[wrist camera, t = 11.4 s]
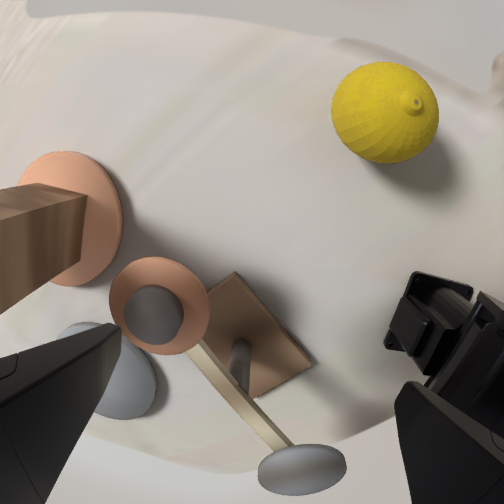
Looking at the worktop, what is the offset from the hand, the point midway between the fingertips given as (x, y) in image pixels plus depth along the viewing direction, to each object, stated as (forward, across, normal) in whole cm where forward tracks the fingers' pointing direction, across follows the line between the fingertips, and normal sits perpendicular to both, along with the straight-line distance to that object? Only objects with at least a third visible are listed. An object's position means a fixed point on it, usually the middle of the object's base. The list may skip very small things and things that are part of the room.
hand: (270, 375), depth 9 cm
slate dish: (+13, +11, +14) cm, 22 cm away
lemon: (+13, -4, -10) cm, 17 cm away
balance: (+13, 0, +7) cm, 15 cm away
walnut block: (+12, +15, +1) cm, 19 cm away
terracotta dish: (+13, +15, +1) cm, 20 cm away
